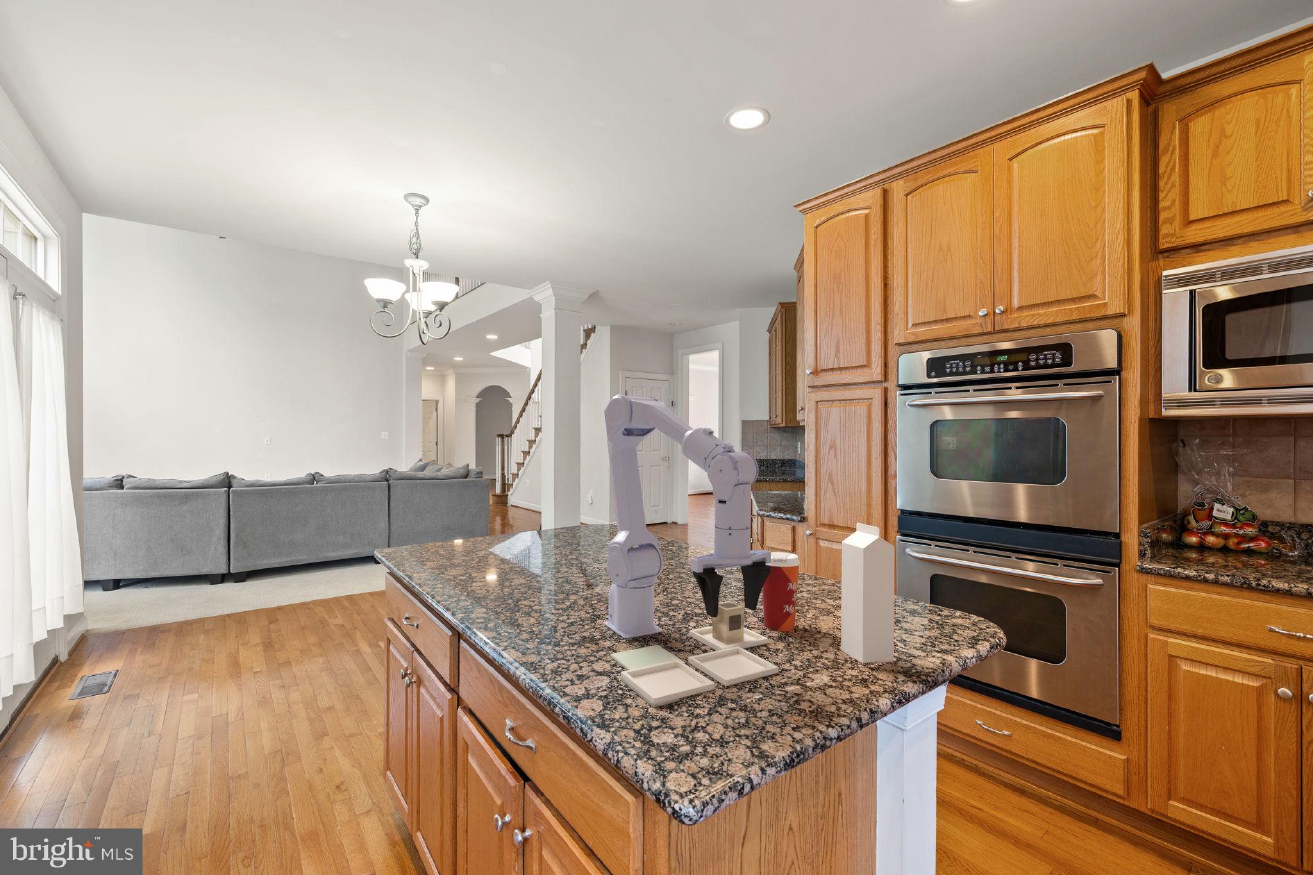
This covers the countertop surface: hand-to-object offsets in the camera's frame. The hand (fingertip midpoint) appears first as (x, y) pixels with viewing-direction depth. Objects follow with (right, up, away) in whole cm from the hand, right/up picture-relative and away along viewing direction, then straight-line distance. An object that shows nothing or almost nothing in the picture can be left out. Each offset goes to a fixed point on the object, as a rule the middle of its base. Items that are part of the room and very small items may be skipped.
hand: (731, 612), depth 91 cm
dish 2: (+1, -9, +11) cm, 14 cm away
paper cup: (+12, -9, +18) cm, 23 cm away
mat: (-13, -8, +2) cm, 16 cm away
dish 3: (0, -9, -2) cm, 9 cm away
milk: (+23, -9, +4) cm, 25 cm away
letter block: (+1, -8, +11) cm, 14 cm away
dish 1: (-10, -8, -8) cm, 16 cm away
